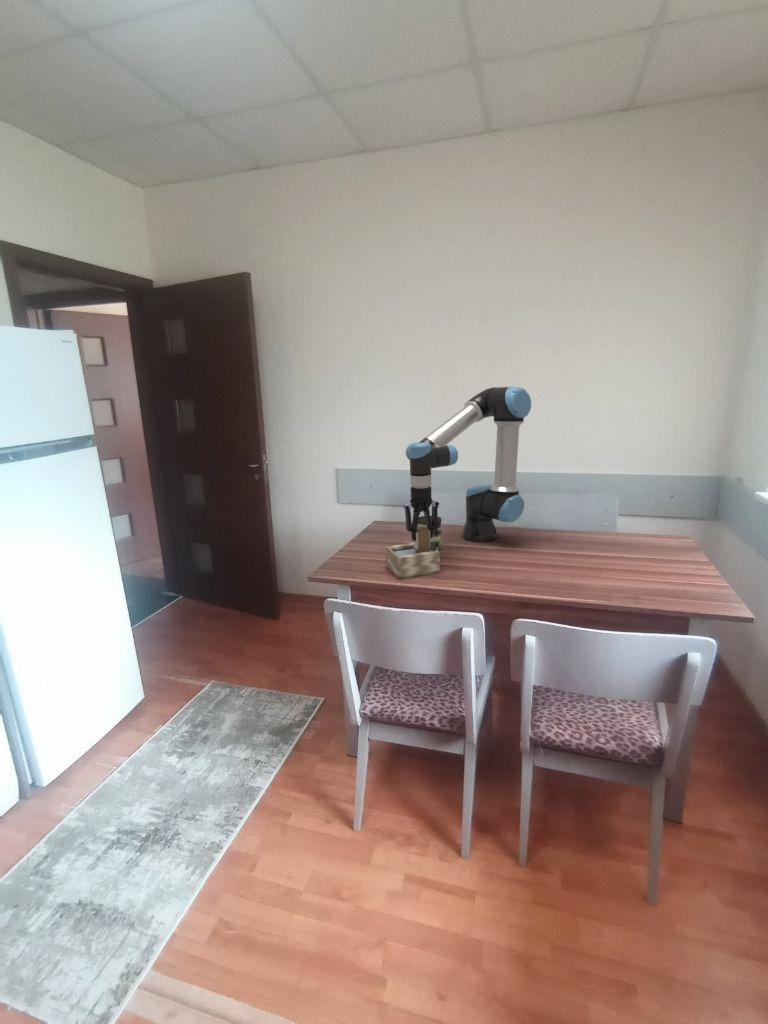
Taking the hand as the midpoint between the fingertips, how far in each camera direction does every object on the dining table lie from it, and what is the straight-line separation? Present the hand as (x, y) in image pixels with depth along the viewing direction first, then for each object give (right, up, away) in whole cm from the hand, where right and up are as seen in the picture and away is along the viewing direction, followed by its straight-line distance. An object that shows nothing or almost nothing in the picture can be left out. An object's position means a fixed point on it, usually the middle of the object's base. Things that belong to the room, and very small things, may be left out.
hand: (422, 547), depth 180 cm
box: (-4, -8, +1) cm, 9 cm away
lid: (-3, -3, 0) cm, 4 cm away
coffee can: (+4, -3, +20) cm, 21 cm away
